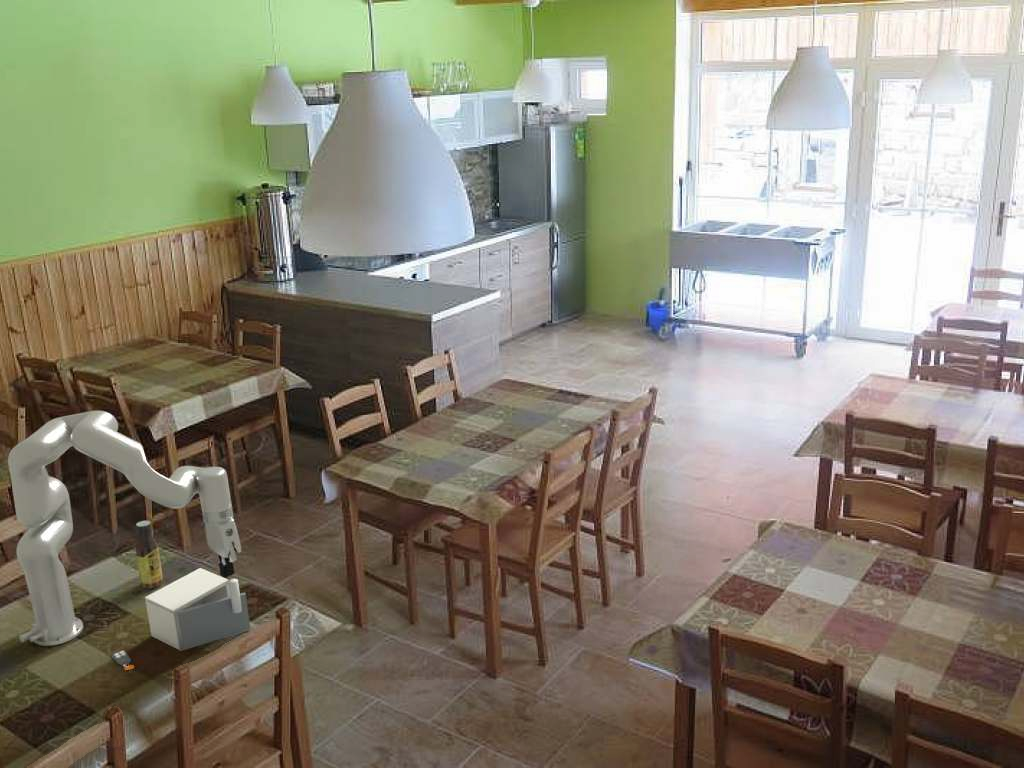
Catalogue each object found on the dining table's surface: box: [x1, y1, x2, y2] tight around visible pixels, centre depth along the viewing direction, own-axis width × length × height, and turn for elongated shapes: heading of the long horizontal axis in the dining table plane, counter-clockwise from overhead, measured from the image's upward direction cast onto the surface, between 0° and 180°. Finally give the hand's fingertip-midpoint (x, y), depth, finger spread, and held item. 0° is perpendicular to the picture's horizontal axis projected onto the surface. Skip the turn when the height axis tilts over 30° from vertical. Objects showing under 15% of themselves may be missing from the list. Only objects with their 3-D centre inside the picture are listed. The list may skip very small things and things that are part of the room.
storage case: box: [144, 567, 230, 651], centre depth 261 cm, size 18×12×12 cm, turn 145°
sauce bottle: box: [135, 520, 164, 590], centre depth 282 cm, size 7×6×20 cm
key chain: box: [111, 649, 136, 671], centre depth 247 cm, size 13×4×2 cm, turn 42°
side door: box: [174, 578, 251, 652], centre depth 252 cm, size 19×4×16 cm, turn 120°
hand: (227, 575), depth 257 cm, fingers closed
